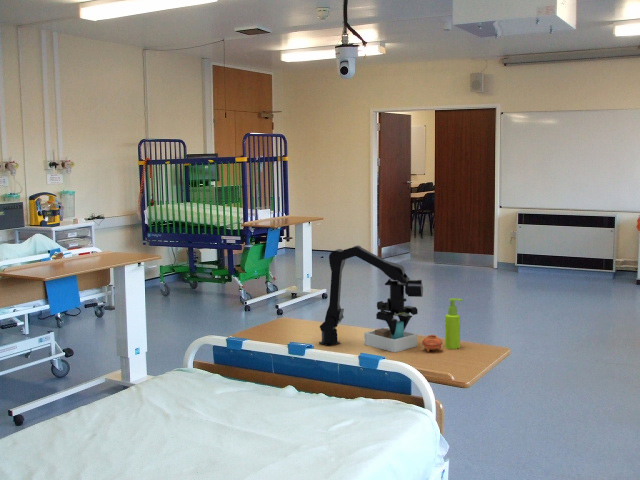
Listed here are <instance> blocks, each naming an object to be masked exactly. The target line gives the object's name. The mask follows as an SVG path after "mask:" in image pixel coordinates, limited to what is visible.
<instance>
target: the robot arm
mask: <svg viewBox="0 0 640 480" xmlns="http://www.w3.org/2000/svg"><path fill="white" fill-rule="evenodd" d="M354 257H357V258H359V259H360V260H362V261H364V262H366V263H368V264H370V265H371V266H373V267H375V268H377V269H379V270H381V272H383V273H384V274H385V276H387V278H388V280H387V281H386V282H385V283H384V285H385V286H389V298H387V301H386V302H384V301H382V300H381V301H378V302H376V307H377V310H379V311H377V313H376V315H375V316H376V320H381V321H385V322H386V324H387V326H388V328H389V329H390V332H391V334H392V335H394V334H395V329H396V324H397V321H398V319H399V321H403V322H404V331H406V328H407V325H408V323H409V322H410V320H411V318H413V316H414V315H418V312H419V311H418V308H417V306H411V305H405V302H407V298H405V294H406V295H407V297H411V298H412V297H413V298H415V297H416V298H417V297H418V298H422V297H423V295H424V287H423V280H422V279H410V278H409V276H408V275H407V274H406V270H405V267H404V266H403V265H401V264H399V263H396V262H393V261H389V260H386V259H384V258H382V257H380V256H378V255H376V254H374V253H373V252H370V251H369V250H366V249H365V248H363V247H362V246H361V245H355V246H353V247H349V248H346V249H341V248H337V249H335V250H333V251H331V252H330V253H329V255H328V261H329V266H330V267H329V268H330V270H331V272H330V273H331V275H330V291H329V292H330V293H329V304H328V308H327V310H326V312H325V313H326V314H325V317H324V321H323V322H322V323H321V325H320V326H319V330H320V331H321V341H319V342H318V344H321V345H324V346H328V347H330V346H335V345H339V344H341V342H340V341H338V329H337V327H338V325H339V324H341V322H342V320H343V319H344V318H345V317H344V311H345V308H341V289H342V277H343V270H344V266H345V264H346V261H347V259H350V258H354ZM396 316H397V317H398V319H396Z"/></svg>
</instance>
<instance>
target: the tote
mask: <svg viewBox="0 0 640 480" xmlns="http://www.w3.org/2000/svg"><path fill="white" fill-rule="evenodd" d="M385 328H386V329H389V327H385ZM375 330H376V329H374V330H370V331H366V332H364V333H363V335H364V337H363V338H364V341H363V342H364V345H366V346H369V347H373V348H377V349H380V350H383V351H384V350H385V351H387V352H390V353H391V352H392V353H398V352H402V351H405V350H409V349H412V348H416V347H418V334H416V333H414V332H413V333H412V332H409V331H406V330H404V337H403V338H399V339H395V340H394V339H390V338H386V337H382V336H378V335H375Z"/></svg>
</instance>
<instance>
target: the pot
mask: <svg viewBox="0 0 640 480" xmlns="http://www.w3.org/2000/svg"><path fill="white" fill-rule="evenodd" d="M421 344H422V346H424V347H425V348H426V352H427V353H429V352H430V350H431V351H434V350H437V349H438V352H441V350H442V345H443V341H442V340H441V338H439V337H438V336H437V335H435V334H429V335H427V336H426V337H424V338H423V340H422V341H421Z"/></svg>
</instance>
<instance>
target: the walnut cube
mask: <svg viewBox="0 0 640 480" xmlns="http://www.w3.org/2000/svg"><path fill="white" fill-rule="evenodd" d="M374 330H375V335H378V336H382V337H386V338H390V339H391V332H390V329H386V327H381V328H378V329H374Z"/></svg>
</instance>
